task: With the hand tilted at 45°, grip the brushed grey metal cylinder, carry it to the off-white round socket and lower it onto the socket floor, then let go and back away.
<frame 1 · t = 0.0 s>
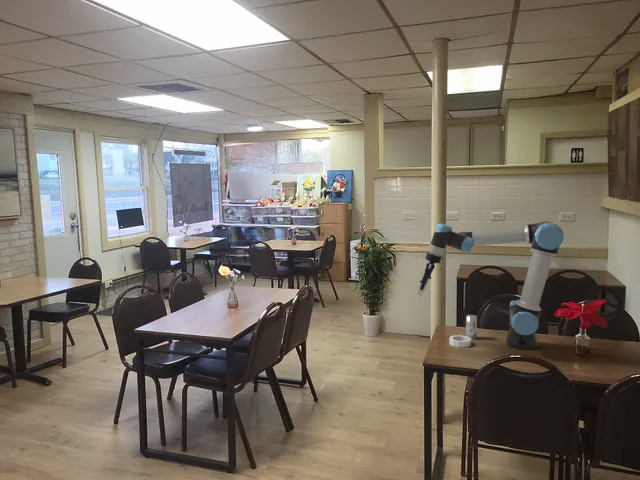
hand: (421, 292, 247), 28 cm above the table, tool tilted 20°, fingers open, 13 cm apart
socket: (460, 344, 250), on the table
metal cylinder: (471, 338, 259), on the table
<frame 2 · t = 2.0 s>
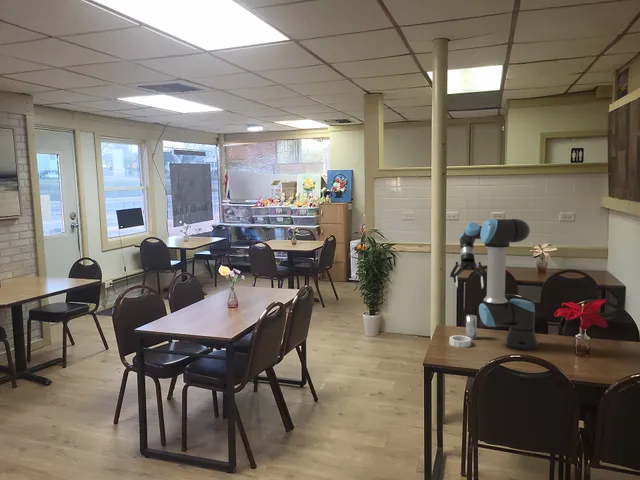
hand: (469, 287, 267), 26 cm above the table, tool tilted 45°, fingers open, 13 cm apart
nothing on the table moved.
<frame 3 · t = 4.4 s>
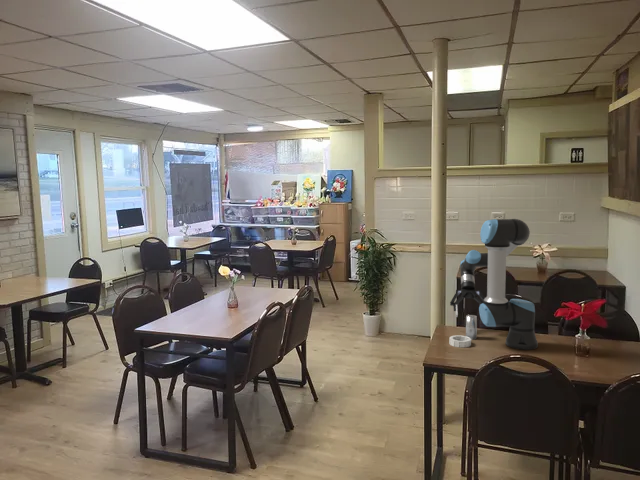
hand: (469, 316, 264), 10 cm above the table, tool tilted 45°, fingers open, 13 cm apart
nothing on the table moved.
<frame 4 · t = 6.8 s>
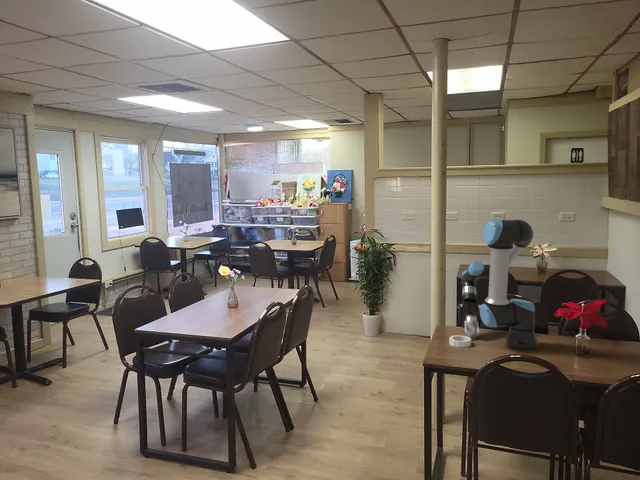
hand: (471, 333, 255), 4 cm above the table, tool tilted 45°, fingers closed on metal cylinder, 5 cm apart
metal cylinder: (471, 338, 259), on the table, touching gripper
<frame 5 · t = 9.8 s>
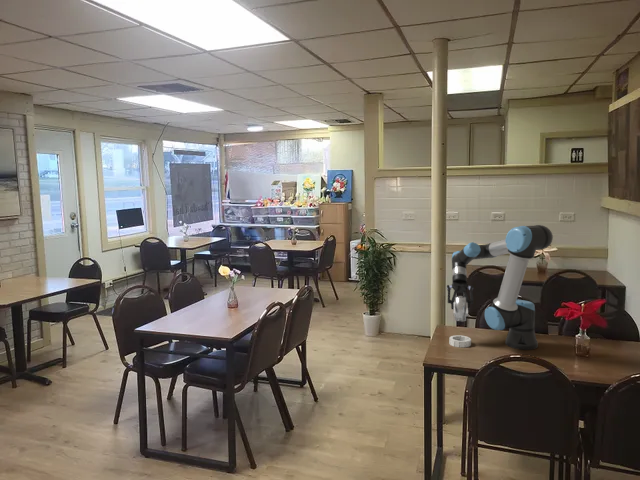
hand: (460, 314, 246), 16 cm above the table, tool tilted 45°, fingers closed on metal cylinder, 5 cm apart
metal cylinder: (460, 320, 250), point 12 cm above the table, touching gripper
when the fingers open (6 cm above the table, at t = 12.7 s): metal cylinder drops 1 cm, resting on socket.
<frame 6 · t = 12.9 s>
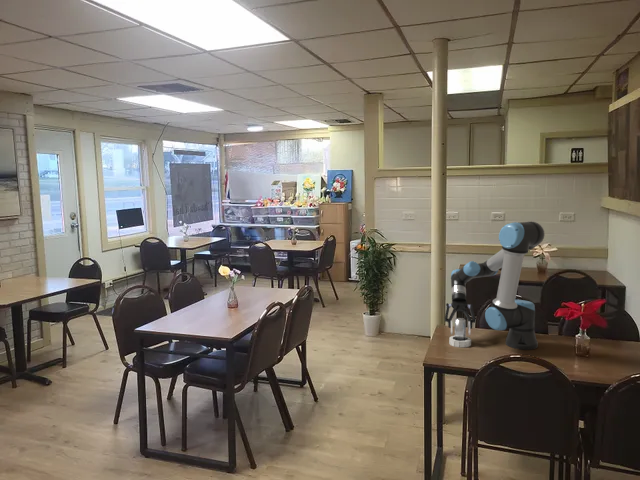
hand: (460, 333, 246), 7 cm above the table, tool tilted 45°, fingers open, 8 cm apart
metal cylinder: (460, 342, 250), point 1 cm above the table, touching socket
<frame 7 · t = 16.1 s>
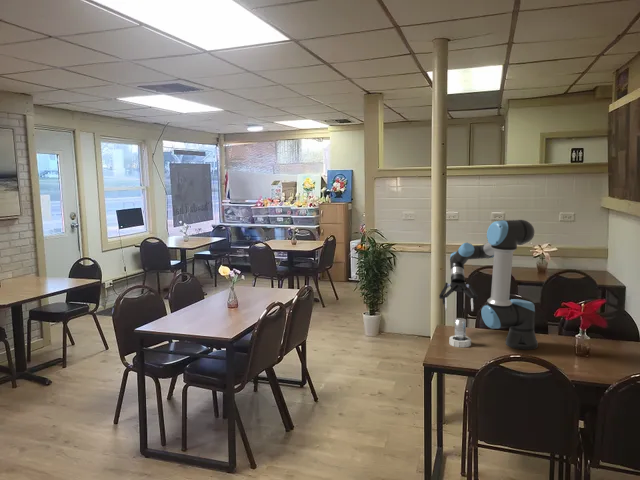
hand: (459, 309, 258), 16 cm above the table, tool tilted 45°, fingers open, 13 cm apart
nothing on the table moved.
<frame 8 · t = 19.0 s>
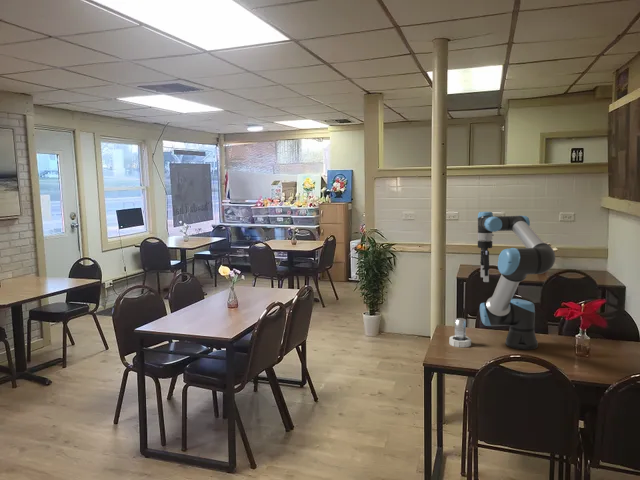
hand: (484, 279, 261), 31 cm above the table, tool pointing down, fingers open, 13 cm apart
nothing on the table moved.
at the end: metal cylinder 0.1 cm off-centre on the socket, point 1.0 cm above the socket's base; metal cylinder tilted 0°; the gripper is holding nothing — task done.
